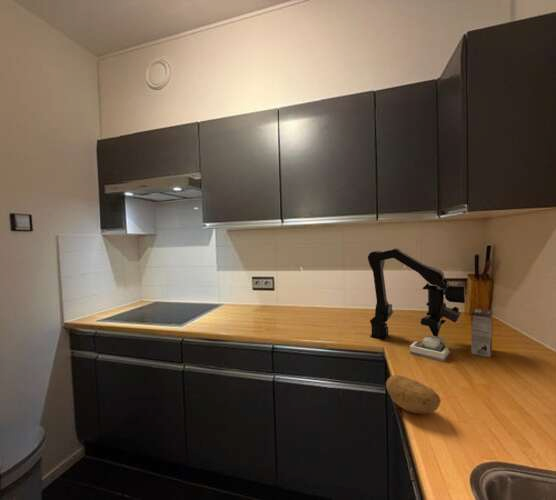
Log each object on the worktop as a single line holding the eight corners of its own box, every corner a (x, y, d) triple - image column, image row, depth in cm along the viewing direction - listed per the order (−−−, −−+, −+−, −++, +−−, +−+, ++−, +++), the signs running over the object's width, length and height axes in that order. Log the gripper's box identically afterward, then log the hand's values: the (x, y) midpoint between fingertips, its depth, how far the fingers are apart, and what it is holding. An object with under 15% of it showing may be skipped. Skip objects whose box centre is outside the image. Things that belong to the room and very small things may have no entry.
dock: (409, 353, 115) (409, 346, 115) (418, 345, 123) (418, 338, 123) (443, 361, 107) (443, 353, 107) (450, 352, 115) (450, 344, 115)
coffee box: (473, 346, 120) (473, 307, 119) (492, 349, 116) (492, 309, 115) (470, 353, 113) (470, 312, 112) (491, 357, 109) (491, 315, 108)
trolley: (417, 351, 115) (417, 339, 114) (424, 344, 121) (424, 333, 120) (440, 356, 109) (440, 344, 109) (446, 349, 115) (446, 338, 115)
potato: (430, 430, 71) (430, 399, 71) (379, 405, 82) (379, 377, 82) (447, 414, 77) (447, 385, 77) (397, 392, 88) (397, 366, 88)
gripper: (452, 308, 107) (452, 349, 108) (463, 298, 121) (463, 335, 122) (420, 304, 115) (420, 342, 116) (434, 295, 128) (434, 330, 129)
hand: (436, 337), depth 121 cm, fingers closed
